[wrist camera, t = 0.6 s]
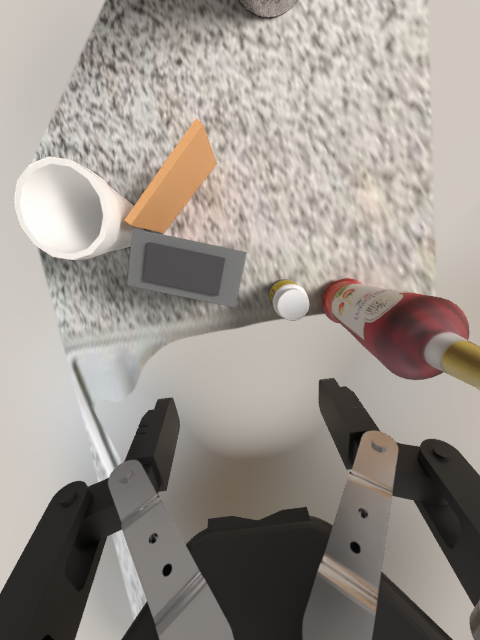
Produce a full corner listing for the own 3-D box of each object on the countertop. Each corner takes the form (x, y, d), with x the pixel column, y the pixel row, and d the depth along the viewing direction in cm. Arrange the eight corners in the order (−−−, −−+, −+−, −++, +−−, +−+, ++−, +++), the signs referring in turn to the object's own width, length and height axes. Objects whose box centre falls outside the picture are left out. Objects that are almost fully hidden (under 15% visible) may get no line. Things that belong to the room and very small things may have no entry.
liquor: (338, 331, 41) (517, 487, 14) (308, 299, 40) (440, 399, 13) (376, 300, 39) (659, 405, 12) (346, 265, 38) (587, 297, 11)
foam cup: (101, 179, 36) (22, 139, 24) (162, 204, 37) (118, 179, 24) (86, 244, 38) (8, 239, 26) (144, 267, 39) (96, 273, 27)
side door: (159, 229, 37) (124, 219, 26) (212, 159, 35) (196, 117, 24) (164, 233, 37) (130, 225, 27) (216, 163, 35) (202, 124, 24)
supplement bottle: (265, 283, 39) (270, 291, 31) (295, 275, 39) (308, 281, 31) (273, 312, 40) (279, 327, 32) (302, 305, 40) (316, 318, 32)
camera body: (167, 235, 38) (129, 227, 26) (246, 252, 38) (246, 252, 26) (162, 275, 39) (124, 286, 27) (238, 291, 40) (234, 308, 27)
